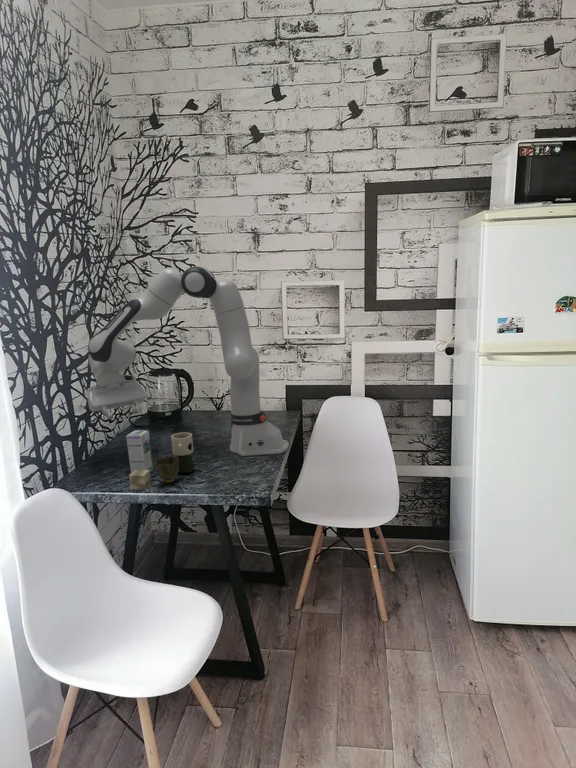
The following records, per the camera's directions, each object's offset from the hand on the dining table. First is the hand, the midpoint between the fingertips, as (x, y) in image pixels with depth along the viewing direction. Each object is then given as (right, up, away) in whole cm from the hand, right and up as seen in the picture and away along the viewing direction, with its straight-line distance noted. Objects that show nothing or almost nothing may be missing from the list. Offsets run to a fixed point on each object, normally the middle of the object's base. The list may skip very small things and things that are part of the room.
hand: (123, 415), depth 198 cm
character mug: (+23, -19, -7) cm, 31 cm away
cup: (+20, -21, -16) cm, 33 cm away
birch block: (+11, -22, -19) cm, 31 cm away
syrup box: (+8, -20, -6) cm, 22 cm away
